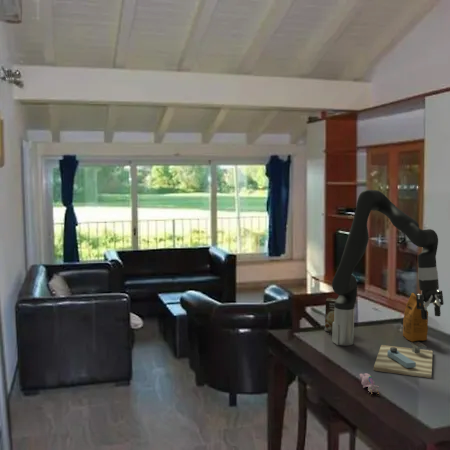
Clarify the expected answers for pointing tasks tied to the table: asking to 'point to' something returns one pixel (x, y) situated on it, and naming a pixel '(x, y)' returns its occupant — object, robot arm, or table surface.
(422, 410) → the table surface
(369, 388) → the rabbit figure
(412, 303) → the coffee package
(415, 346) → the block
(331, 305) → the coffee box
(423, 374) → the pivot board
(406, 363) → the link
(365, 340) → the table surface
